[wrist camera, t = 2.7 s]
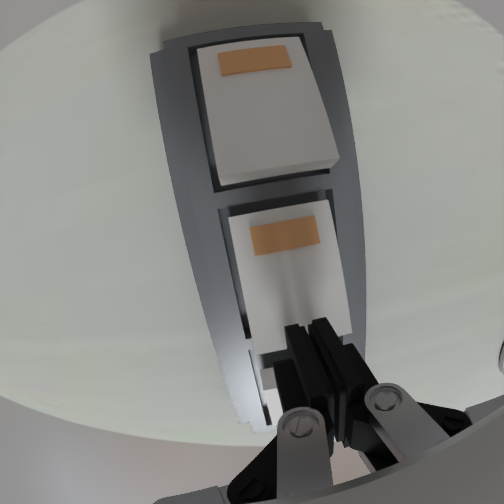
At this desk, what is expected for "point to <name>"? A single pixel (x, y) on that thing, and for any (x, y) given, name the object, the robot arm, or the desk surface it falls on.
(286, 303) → the rocker middle
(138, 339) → the desk surface
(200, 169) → the rocker switch panel
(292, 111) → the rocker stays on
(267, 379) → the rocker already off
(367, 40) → the desk surface
